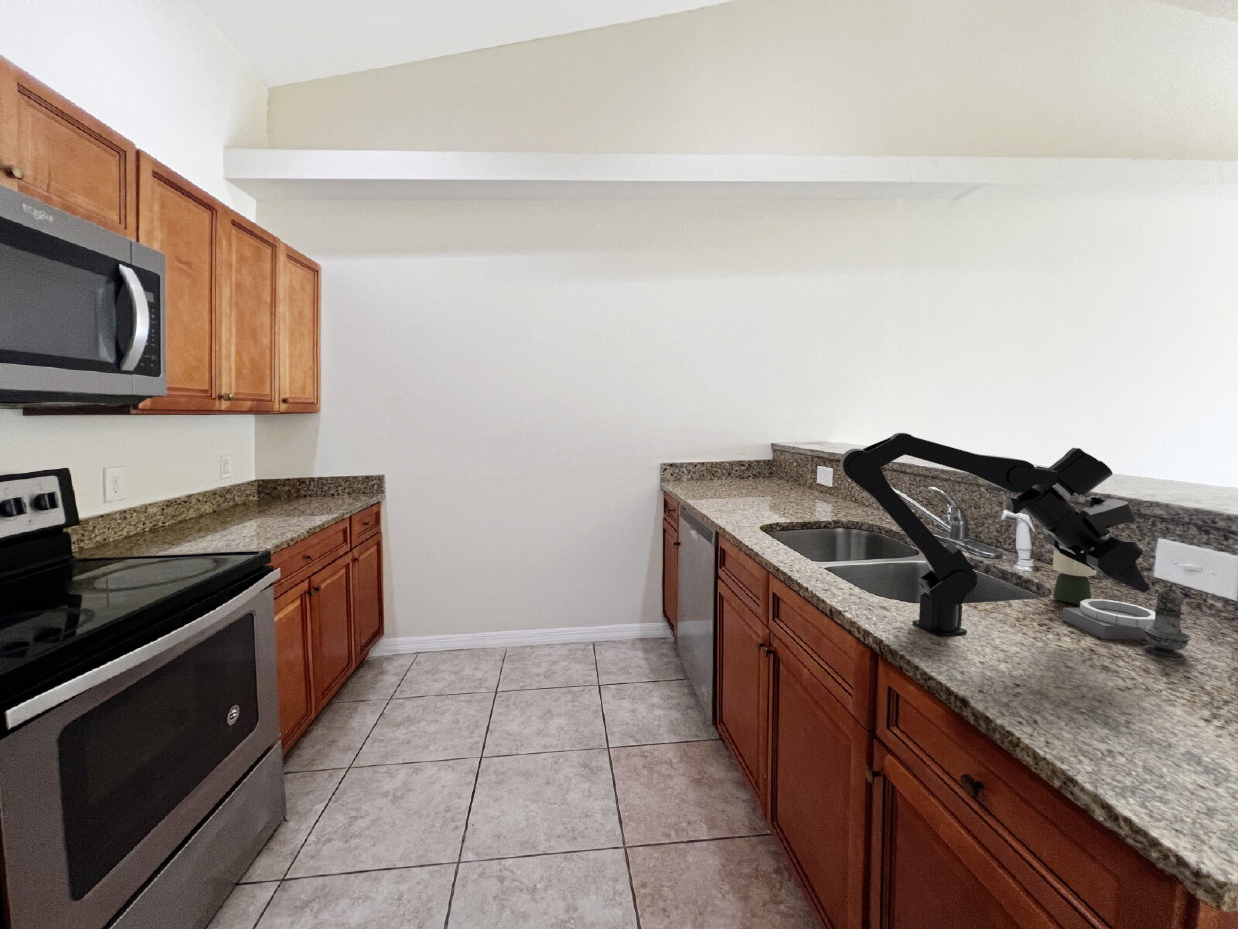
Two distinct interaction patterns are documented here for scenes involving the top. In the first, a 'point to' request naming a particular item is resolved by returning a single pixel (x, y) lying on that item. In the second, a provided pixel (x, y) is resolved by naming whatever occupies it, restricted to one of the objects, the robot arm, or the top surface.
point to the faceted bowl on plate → (1110, 618)
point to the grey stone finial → (1167, 627)
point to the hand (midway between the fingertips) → (1128, 582)
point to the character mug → (1071, 579)
